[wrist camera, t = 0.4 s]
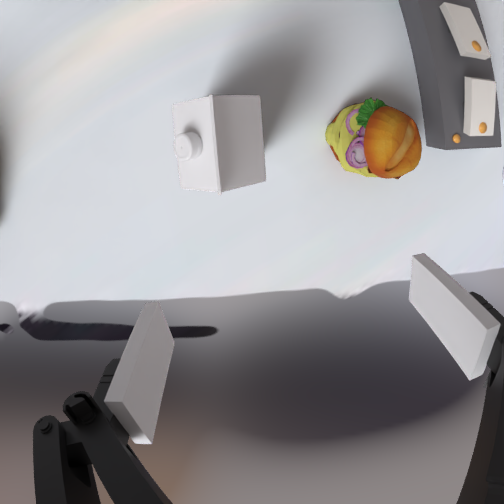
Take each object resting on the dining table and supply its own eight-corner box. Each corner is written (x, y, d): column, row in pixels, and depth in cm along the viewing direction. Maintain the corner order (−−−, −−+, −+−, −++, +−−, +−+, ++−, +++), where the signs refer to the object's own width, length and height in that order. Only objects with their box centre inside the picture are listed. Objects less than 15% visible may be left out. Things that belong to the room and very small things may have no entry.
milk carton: (252, 106, 36) (264, 89, 19) (256, 160, 39) (270, 191, 22) (196, 111, 36) (158, 101, 19) (201, 165, 39) (170, 200, 22)
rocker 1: (439, 6, 26) (444, 1, 24) (464, 12, 25) (470, 7, 24) (460, 55, 27) (467, 51, 25) (485, 59, 27) (491, 56, 25)
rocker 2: (464, 76, 28) (472, 78, 27) (488, 79, 28) (496, 81, 26) (463, 132, 33) (470, 136, 32) (486, 132, 33) (493, 136, 31)
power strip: (366, -81, 23) (378, -97, 18) (427, -68, 22) (443, -80, 17) (426, 145, 39) (448, 150, 33) (481, 142, 38) (504, 147, 33)
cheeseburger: (323, 94, 36) (370, 89, 27) (387, 108, 39) (437, 110, 30) (318, 169, 40) (362, 184, 31) (380, 174, 43) (428, 190, 34)
